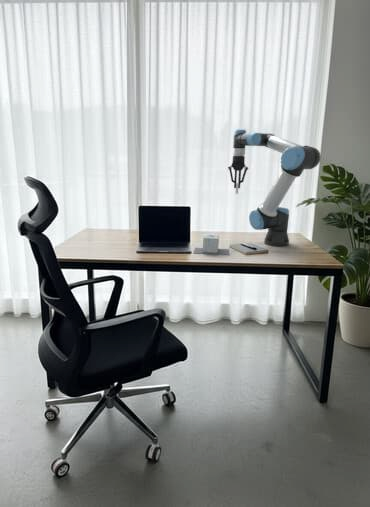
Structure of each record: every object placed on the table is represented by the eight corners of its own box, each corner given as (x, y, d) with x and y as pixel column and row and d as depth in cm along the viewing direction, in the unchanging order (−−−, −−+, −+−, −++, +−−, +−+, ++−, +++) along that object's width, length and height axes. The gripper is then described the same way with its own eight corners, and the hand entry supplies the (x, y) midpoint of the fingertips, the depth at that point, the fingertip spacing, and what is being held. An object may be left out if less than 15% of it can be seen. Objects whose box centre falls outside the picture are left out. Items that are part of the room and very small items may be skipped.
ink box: (218, 248, 216) (217, 253, 205) (204, 247, 217) (202, 252, 206) (219, 233, 214) (218, 238, 202) (204, 233, 215) (202, 238, 203)
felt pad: (229, 249, 215) (229, 249, 215) (229, 255, 203) (229, 254, 203) (195, 248, 217) (195, 247, 217) (193, 253, 205) (193, 252, 205)
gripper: (248, 155, 234) (246, 193, 240) (228, 155, 235) (226, 192, 242) (249, 155, 227) (247, 194, 233) (228, 155, 228) (226, 193, 234)
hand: (236, 193), depth 237 cm, fingers closed
